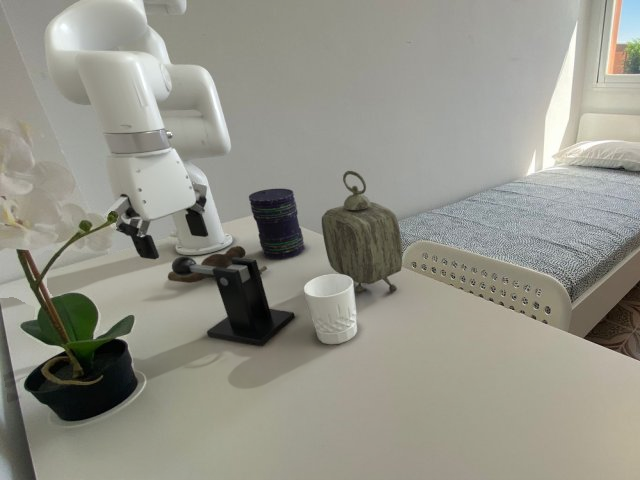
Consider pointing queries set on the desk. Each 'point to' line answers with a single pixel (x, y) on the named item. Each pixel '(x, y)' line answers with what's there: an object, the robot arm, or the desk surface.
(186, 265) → the tap lever
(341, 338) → the white cup
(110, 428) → the desk surface
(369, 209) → the tabletop clock
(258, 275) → the bracket
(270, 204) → the dark blue cylinder
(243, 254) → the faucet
